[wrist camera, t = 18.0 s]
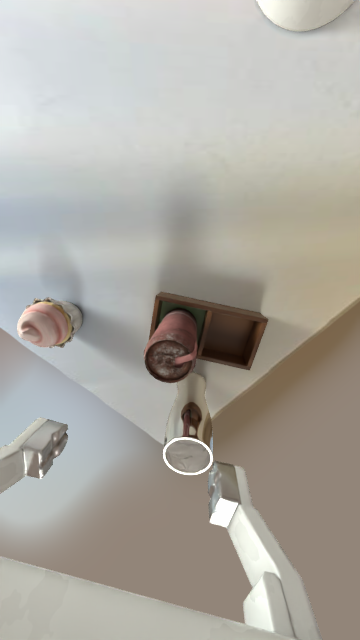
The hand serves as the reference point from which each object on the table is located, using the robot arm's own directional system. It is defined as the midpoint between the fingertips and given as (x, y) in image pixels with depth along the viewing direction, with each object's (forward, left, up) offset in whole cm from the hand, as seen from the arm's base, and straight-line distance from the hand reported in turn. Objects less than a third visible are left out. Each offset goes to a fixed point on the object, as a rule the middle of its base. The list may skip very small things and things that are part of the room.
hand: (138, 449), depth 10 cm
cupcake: (+5, -22, -25) cm, 34 cm away
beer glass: (+14, +5, -25) cm, 29 cm away
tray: (+1, +4, -25) cm, 26 cm away
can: (+1, 0, -25) cm, 25 cm away
